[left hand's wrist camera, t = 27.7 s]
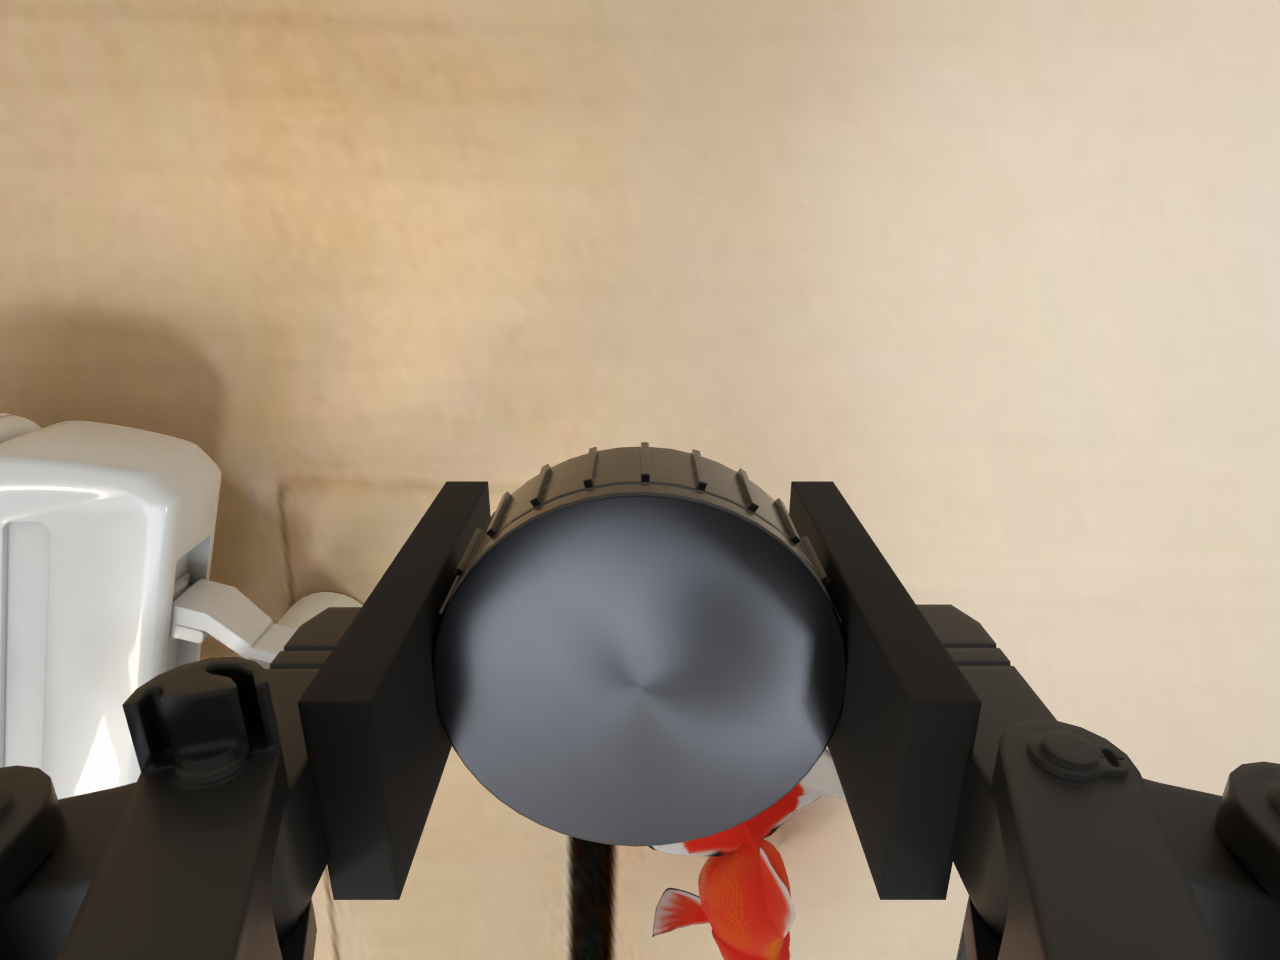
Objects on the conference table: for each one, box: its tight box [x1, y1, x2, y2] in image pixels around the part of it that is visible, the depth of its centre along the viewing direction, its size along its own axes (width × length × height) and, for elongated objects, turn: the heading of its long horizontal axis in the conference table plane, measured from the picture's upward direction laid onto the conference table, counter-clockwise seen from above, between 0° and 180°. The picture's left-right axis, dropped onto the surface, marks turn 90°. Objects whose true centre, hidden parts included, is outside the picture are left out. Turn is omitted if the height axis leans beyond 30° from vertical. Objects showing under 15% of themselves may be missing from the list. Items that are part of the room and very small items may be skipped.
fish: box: [649, 749, 846, 960], centre depth 36 cm, size 11×16×10 cm
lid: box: [432, 442, 847, 846], centre depth 11 cm, size 6×6×2 cm
